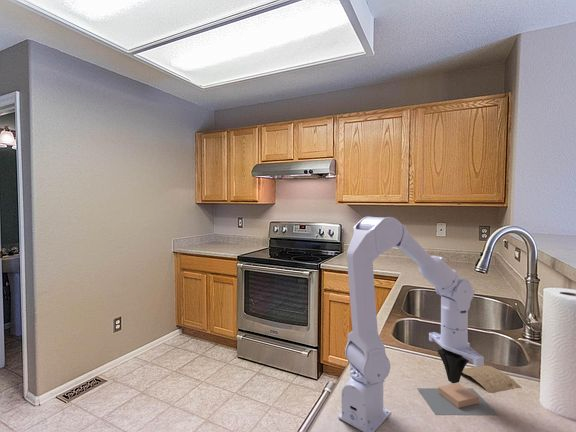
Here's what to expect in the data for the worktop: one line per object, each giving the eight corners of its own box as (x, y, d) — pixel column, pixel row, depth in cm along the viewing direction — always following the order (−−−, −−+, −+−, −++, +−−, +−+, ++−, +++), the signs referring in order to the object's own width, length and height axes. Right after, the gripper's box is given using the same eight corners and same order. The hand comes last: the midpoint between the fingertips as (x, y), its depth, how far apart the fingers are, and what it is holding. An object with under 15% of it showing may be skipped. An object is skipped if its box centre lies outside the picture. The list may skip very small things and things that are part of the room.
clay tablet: (526, 394, 76) (526, 383, 76) (496, 402, 73) (496, 390, 73) (474, 366, 90) (474, 357, 90) (447, 371, 87) (447, 362, 87)
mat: (435, 416, 67) (435, 414, 67) (416, 389, 77) (416, 388, 77) (499, 416, 67) (499, 414, 67) (472, 390, 77) (472, 388, 77)
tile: (438, 393, 75) (458, 408, 69) (438, 386, 75) (458, 401, 69) (457, 389, 77) (478, 403, 71) (457, 382, 77) (479, 396, 71)
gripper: (494, 335, 68) (494, 395, 68) (444, 314, 82) (444, 364, 82) (469, 339, 66) (469, 401, 66) (422, 317, 80) (422, 368, 80)
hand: (453, 381), depth 74 cm, fingers closed
